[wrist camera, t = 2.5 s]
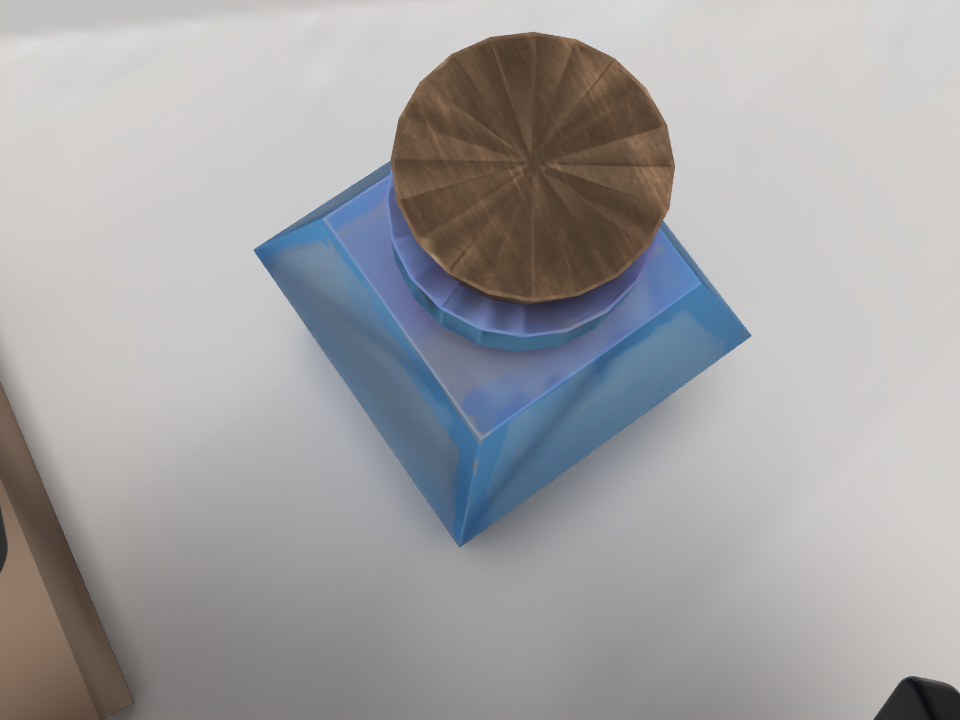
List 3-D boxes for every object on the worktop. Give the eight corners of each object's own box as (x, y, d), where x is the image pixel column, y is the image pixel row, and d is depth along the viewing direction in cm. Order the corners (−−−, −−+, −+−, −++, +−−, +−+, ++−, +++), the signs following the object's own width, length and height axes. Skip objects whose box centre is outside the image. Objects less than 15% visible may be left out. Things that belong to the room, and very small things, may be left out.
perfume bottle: (667, 388, 22) (921, 230, 10) (456, 541, 21) (467, 560, 9) (516, 185, 23) (590, -178, 11) (306, 326, 22) (144, 96, 10)
